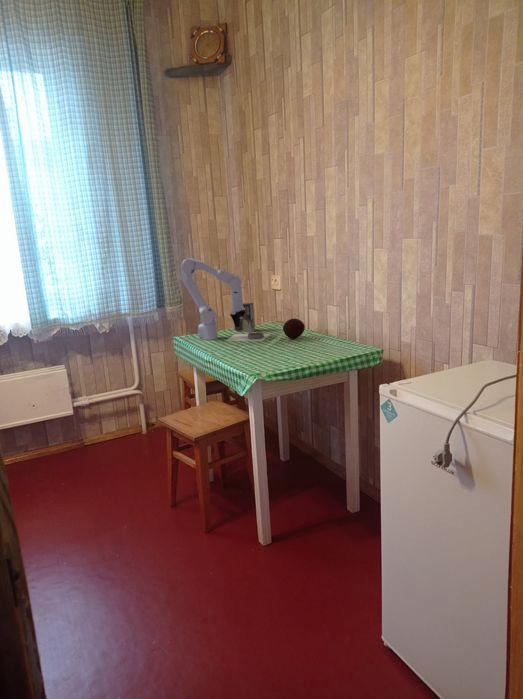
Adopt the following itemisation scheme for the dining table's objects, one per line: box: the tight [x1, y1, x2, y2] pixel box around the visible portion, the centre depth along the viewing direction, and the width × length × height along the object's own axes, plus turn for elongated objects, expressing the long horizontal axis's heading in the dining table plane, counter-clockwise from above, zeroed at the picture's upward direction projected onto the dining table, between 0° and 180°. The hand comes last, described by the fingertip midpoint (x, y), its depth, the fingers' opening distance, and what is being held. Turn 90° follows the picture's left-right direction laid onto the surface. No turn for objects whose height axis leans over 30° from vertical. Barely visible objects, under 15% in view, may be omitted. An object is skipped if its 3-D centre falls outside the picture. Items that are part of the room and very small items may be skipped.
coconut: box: [282, 318, 306, 340], centre depth 261 cm, size 11×13×10 cm
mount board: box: [224, 331, 271, 342], centre depth 267 cm, size 20×16×3 cm
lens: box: [234, 316, 243, 332], centre depth 268 cm, size 5×5×7 cm
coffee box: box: [236, 302, 256, 333], centre depth 284 cm, size 9×6×16 cm
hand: (238, 325), depth 268 cm, fingers closed on lens, 4 cm apart
